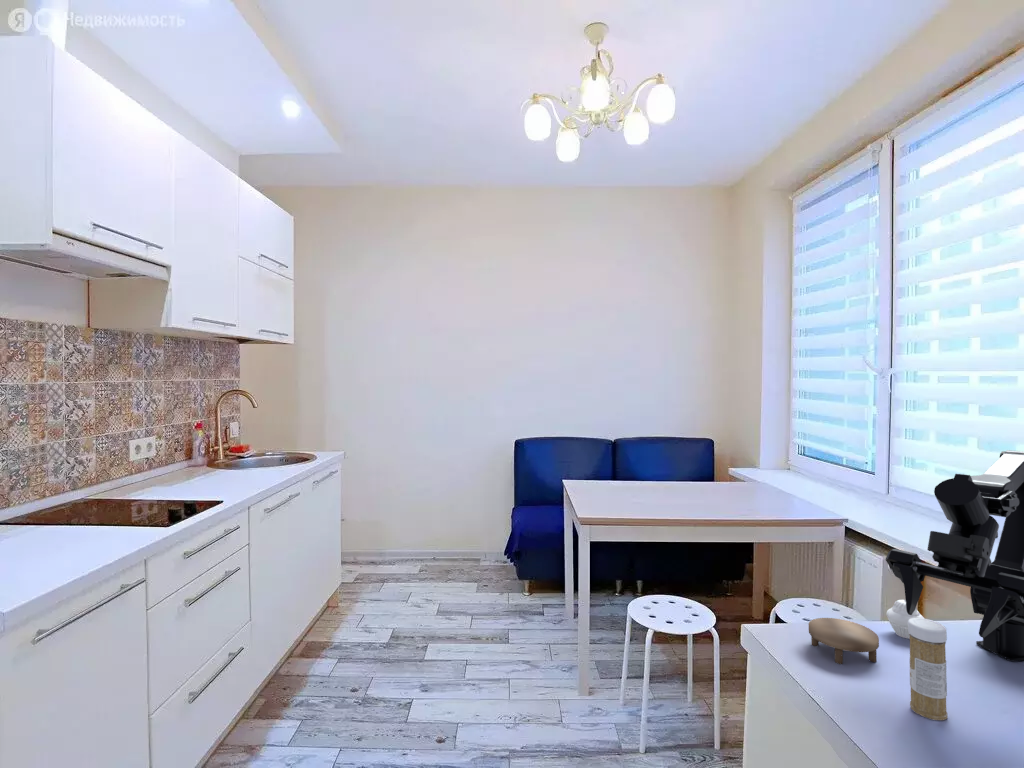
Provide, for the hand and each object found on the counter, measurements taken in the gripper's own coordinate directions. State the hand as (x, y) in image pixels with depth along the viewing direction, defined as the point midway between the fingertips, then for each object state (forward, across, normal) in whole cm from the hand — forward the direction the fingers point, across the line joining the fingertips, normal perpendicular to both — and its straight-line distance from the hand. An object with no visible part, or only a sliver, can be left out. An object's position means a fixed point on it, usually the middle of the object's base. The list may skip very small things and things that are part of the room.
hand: (943, 624), depth 81 cm
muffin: (-6, -13, +22) cm, 26 cm away
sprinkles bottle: (+13, 0, +4) cm, 13 cm away
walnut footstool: (+7, -16, +10) cm, 20 cm away
